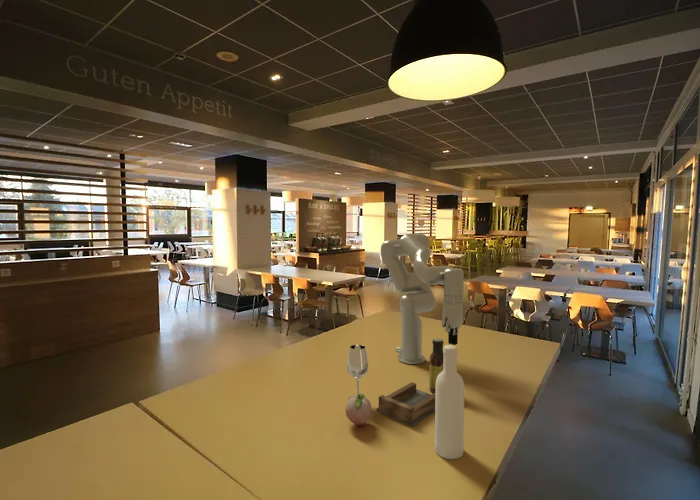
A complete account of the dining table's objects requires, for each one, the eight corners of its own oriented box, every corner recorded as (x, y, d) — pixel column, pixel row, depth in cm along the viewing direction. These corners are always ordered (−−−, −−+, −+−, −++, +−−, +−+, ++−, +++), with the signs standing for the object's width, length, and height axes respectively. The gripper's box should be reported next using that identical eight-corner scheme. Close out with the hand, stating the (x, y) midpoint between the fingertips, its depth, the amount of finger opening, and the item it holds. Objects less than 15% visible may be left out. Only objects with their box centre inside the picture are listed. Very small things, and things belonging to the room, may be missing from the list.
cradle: (376, 410, 128) (376, 396, 128) (412, 389, 144) (412, 376, 144) (413, 426, 118) (413, 410, 117) (447, 402, 134) (447, 388, 133)
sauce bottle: (446, 395, 139) (447, 343, 138) (429, 393, 141) (429, 342, 139) (445, 387, 146) (446, 337, 145) (429, 386, 147) (429, 337, 146)
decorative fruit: (346, 417, 124) (346, 388, 123) (370, 417, 124) (370, 388, 123) (344, 432, 114) (344, 401, 114) (371, 433, 114) (371, 401, 114)
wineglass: (371, 397, 138) (371, 344, 136) (365, 407, 130) (364, 351, 129) (351, 394, 140) (350, 342, 139) (344, 404, 133) (343, 349, 132)
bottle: (430, 443, 109) (432, 342, 107) (457, 442, 109) (458, 341, 107) (439, 460, 101) (441, 352, 99) (468, 459, 101) (469, 351, 99)
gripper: (453, 295, 158) (453, 337, 159) (435, 300, 147) (435, 346, 148) (470, 297, 152) (469, 341, 154) (453, 303, 141) (452, 350, 143)
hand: (452, 343), depth 151 cm, fingers closed
